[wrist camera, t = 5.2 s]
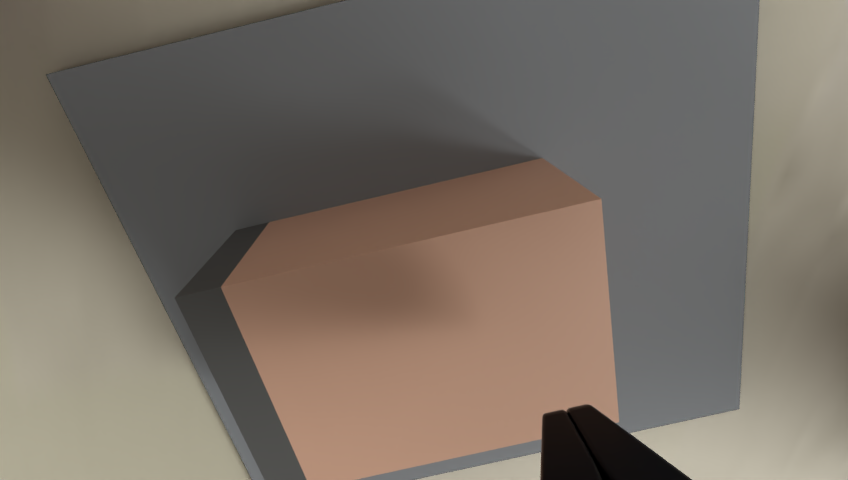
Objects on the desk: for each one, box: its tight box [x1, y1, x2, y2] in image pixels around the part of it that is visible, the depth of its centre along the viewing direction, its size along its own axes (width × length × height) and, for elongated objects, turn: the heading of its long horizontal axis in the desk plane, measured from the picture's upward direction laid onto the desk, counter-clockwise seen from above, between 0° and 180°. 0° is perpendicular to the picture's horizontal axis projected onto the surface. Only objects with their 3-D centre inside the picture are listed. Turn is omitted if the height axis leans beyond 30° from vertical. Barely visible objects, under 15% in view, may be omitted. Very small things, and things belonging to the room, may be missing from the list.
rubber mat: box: [46, 0, 759, 480], centre depth 14 cm, size 18×16×1 cm
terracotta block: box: [175, 158, 619, 480], centre depth 12 cm, size 4×6×9 cm
